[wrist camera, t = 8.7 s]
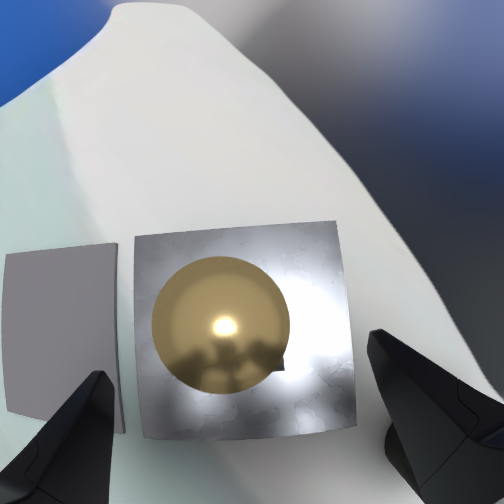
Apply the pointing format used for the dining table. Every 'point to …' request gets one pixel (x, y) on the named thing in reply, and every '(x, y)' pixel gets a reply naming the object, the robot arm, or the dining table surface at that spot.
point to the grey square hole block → (298, 349)
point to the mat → (58, 326)
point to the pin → (220, 325)
